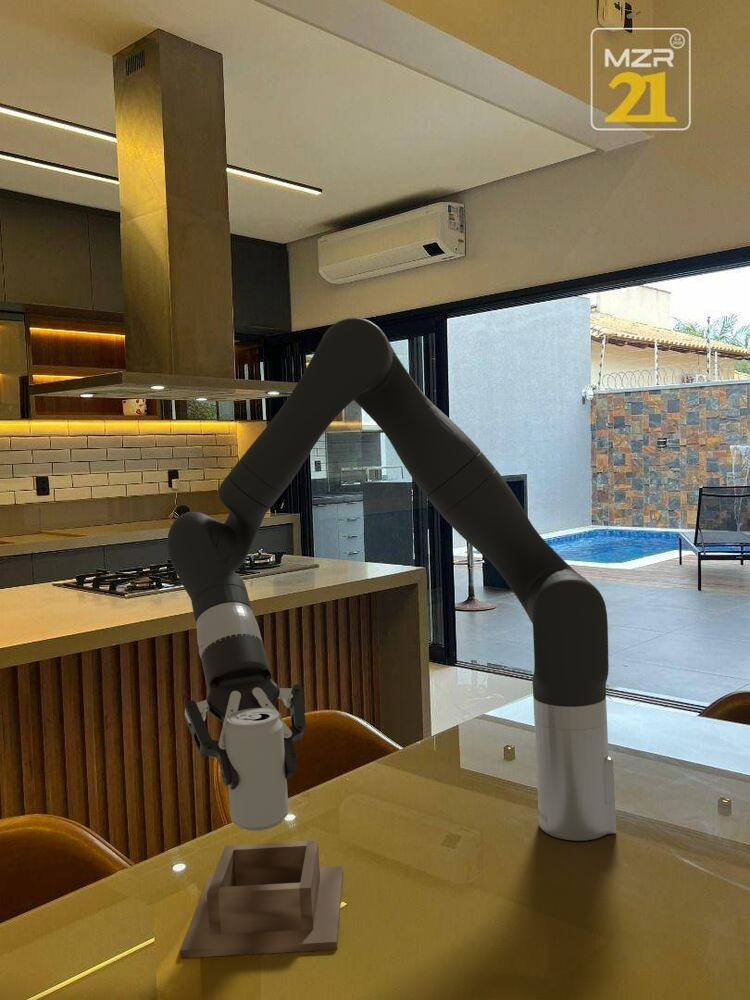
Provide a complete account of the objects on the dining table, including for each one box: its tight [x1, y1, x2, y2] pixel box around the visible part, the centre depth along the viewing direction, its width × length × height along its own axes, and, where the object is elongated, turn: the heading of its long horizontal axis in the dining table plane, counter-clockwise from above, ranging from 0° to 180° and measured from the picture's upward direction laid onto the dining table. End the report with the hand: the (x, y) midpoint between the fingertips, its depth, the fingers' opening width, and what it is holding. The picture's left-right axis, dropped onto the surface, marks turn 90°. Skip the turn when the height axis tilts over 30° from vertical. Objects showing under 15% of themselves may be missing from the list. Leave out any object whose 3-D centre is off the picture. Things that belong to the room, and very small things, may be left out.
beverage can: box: [224, 708, 290, 832], centre depth 95 cm, size 6×6×12 cm
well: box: [179, 840, 344, 959], centre depth 96 cm, size 16×16×5 cm
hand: (263, 780), depth 94 cm, fingers closed on beverage can, 5 cm apart
